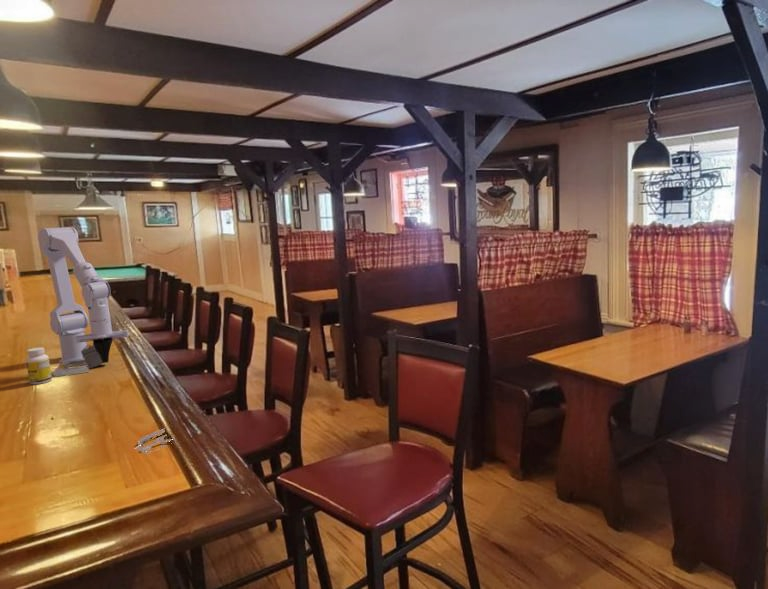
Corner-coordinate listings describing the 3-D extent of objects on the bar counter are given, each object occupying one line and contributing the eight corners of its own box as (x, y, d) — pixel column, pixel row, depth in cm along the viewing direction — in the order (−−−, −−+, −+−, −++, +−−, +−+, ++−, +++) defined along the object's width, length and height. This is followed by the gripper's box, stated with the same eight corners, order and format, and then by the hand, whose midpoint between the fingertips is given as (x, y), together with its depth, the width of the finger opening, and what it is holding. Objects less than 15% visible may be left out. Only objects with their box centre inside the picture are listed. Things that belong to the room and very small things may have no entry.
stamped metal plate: (167, 434, 106) (166, 427, 106) (185, 441, 102) (184, 434, 102) (129, 448, 100) (128, 441, 100) (146, 457, 96) (145, 449, 96)
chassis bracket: (63, 366, 164) (62, 359, 164) (95, 361, 167) (94, 355, 167) (54, 377, 152) (53, 370, 152) (88, 372, 155) (87, 365, 155)
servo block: (92, 364, 164) (82, 345, 162) (105, 359, 165) (95, 340, 163) (89, 369, 158) (79, 350, 156) (102, 364, 159) (92, 344, 158)
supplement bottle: (25, 383, 147) (20, 350, 145) (45, 378, 151) (40, 346, 150) (36, 385, 144) (31, 352, 143) (56, 380, 149) (51, 347, 147)
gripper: (70, 325, 154) (77, 368, 156) (124, 319, 159) (130, 361, 161) (75, 321, 161) (81, 363, 163) (126, 315, 166) (132, 356, 168)
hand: (106, 361), depth 162 cm, fingers closed
